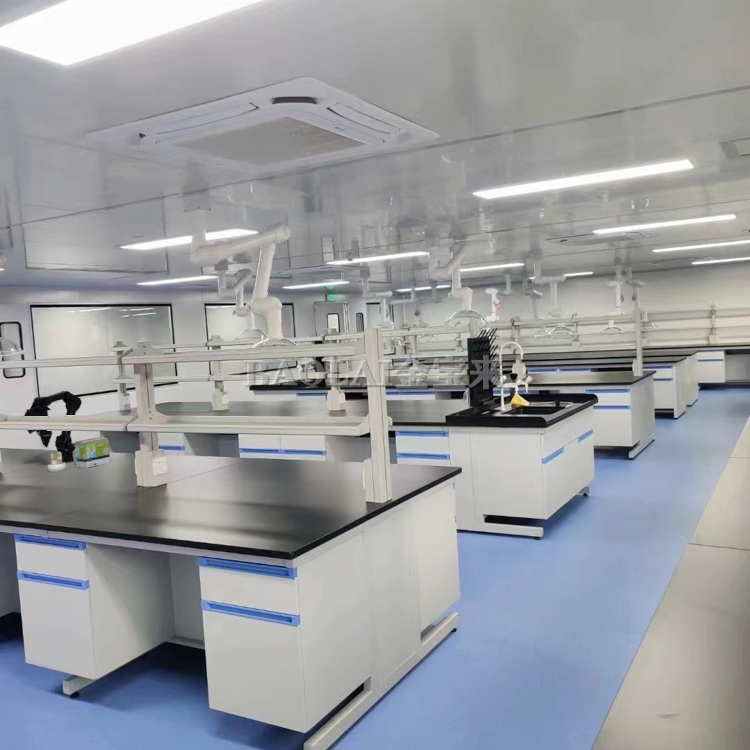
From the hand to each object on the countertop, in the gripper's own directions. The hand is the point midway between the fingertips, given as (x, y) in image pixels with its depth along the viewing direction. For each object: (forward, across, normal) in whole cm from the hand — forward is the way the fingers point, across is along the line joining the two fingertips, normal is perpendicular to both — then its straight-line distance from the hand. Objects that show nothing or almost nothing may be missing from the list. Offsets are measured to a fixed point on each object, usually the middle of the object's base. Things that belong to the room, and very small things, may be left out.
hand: (45, 446), depth 378 cm
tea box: (+12, +16, +22) cm, 30 cm away
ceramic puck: (+12, +16, +3) cm, 20 cm away
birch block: (+8, +16, +3) cm, 18 cm away
